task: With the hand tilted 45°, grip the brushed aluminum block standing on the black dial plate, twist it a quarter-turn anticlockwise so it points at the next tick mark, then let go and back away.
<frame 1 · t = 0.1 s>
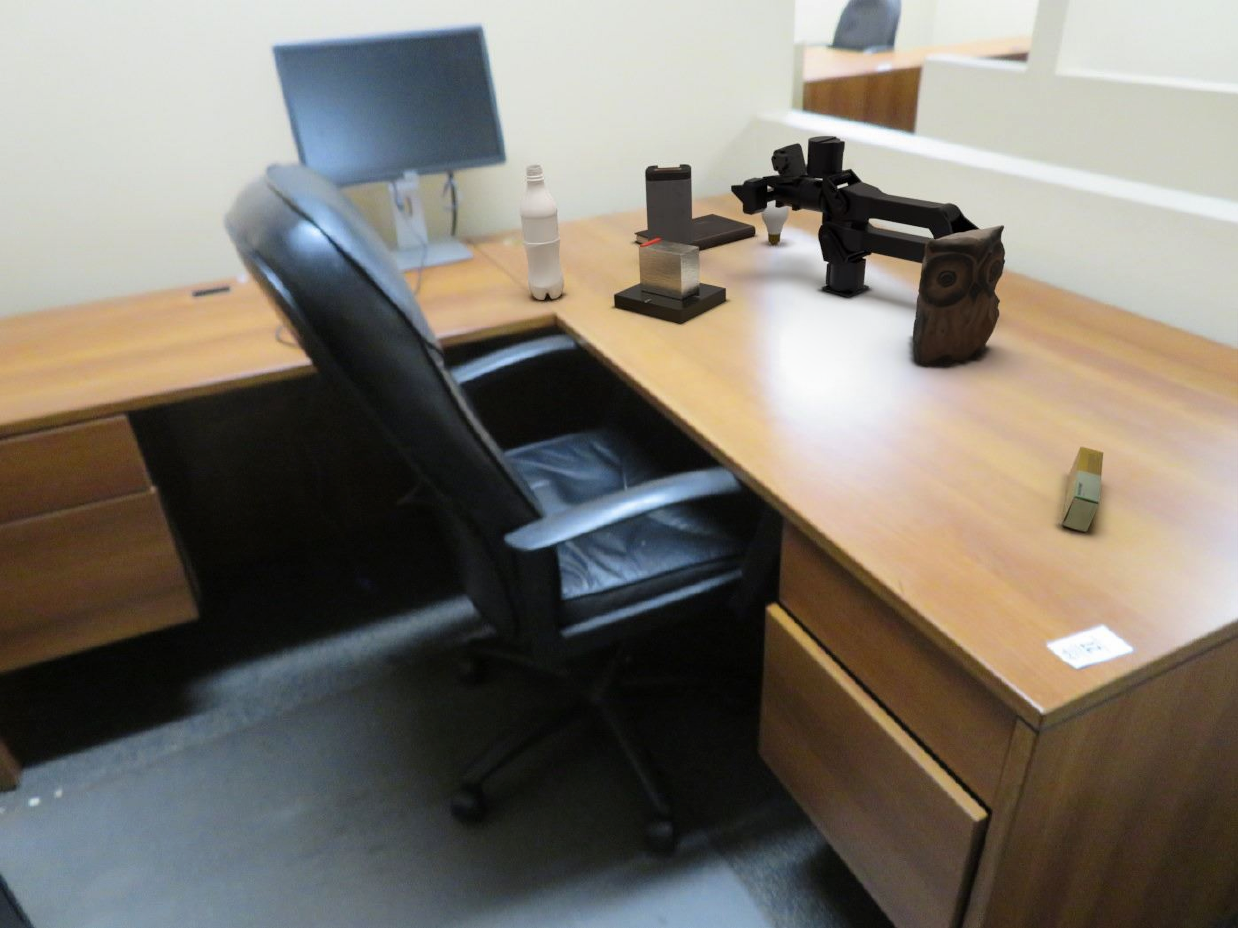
hand: (747, 183, 172), 17 cm above the table, tool horizontal, fingers open, 9 cm apart
owl: (942, 351, 137), on the table
light bulb: (773, 245, 191), on the table
electronic device: (671, 264, 184), on the table
brushed aluminum block: (669, 268, 159), point 7 cm above the table, hinge at 0.0°
medication box: (1079, 504, 98), on the table
water bottle: (547, 297, 171), on the table
dial plate: (670, 303, 163), on the table
hardcover book: (695, 240, 198), on the table
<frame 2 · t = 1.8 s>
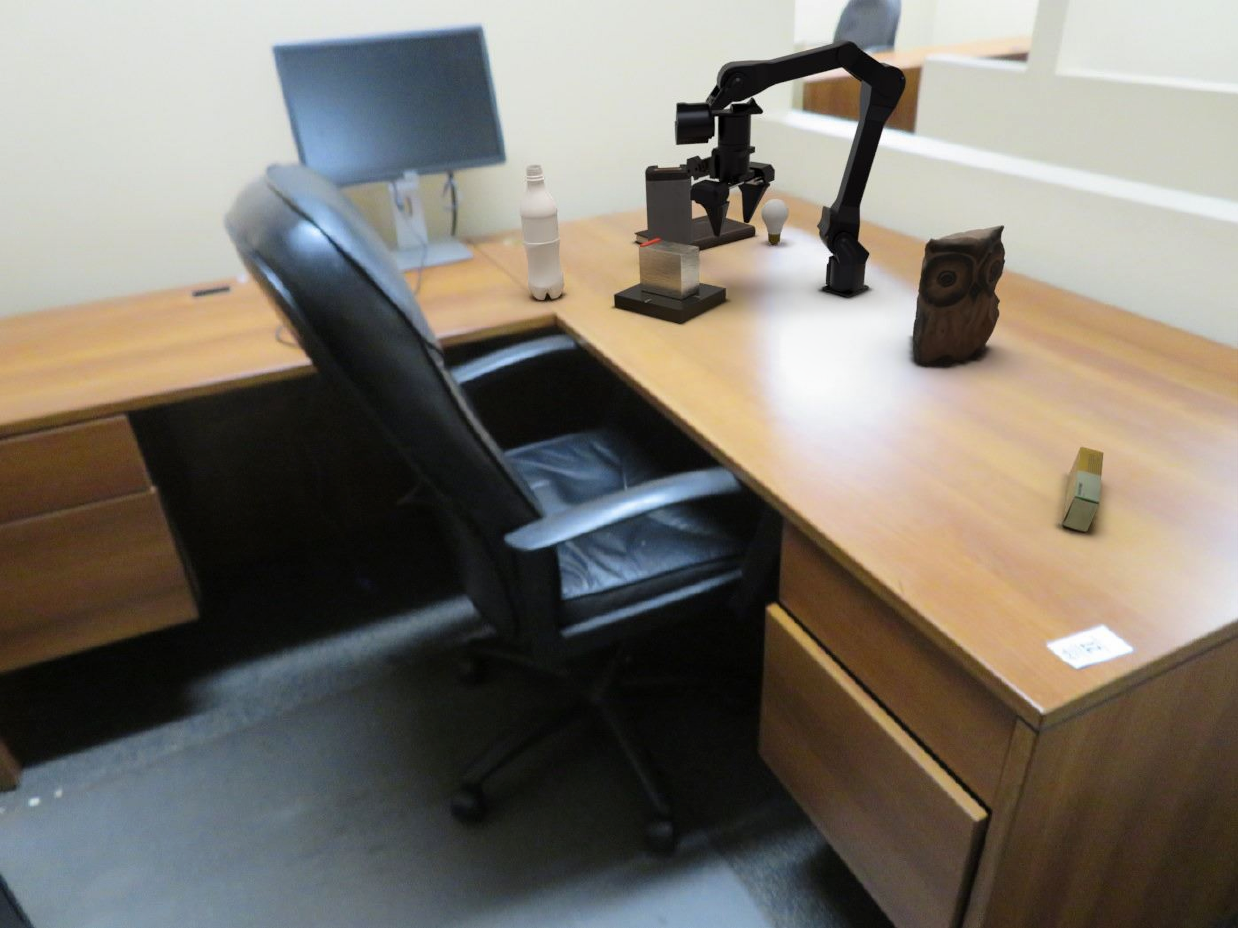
hand: (732, 229, 158), 13 cm above the table, tool pointing down, fingers open, 9 cm apart
nothing on the table moved.
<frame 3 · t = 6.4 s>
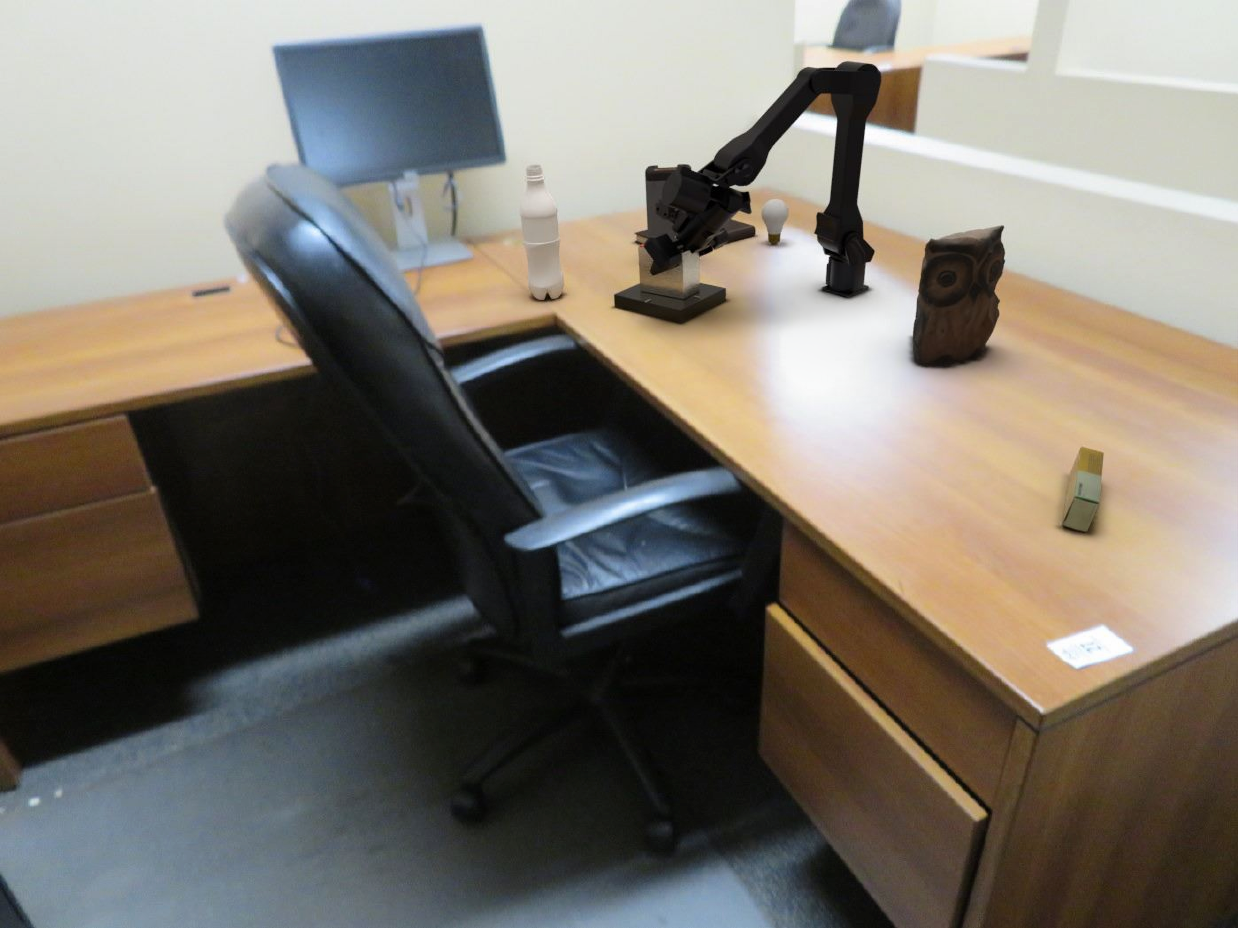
hand: (662, 268, 160), 7 cm above the table, tool tilted 45°, fingers closed on brushed aluminum block, 6 cm apart
brushed aluminum block: (669, 268, 159), point 7 cm above the table, hinge at 3.9°, touching gripper
everything else where it was.
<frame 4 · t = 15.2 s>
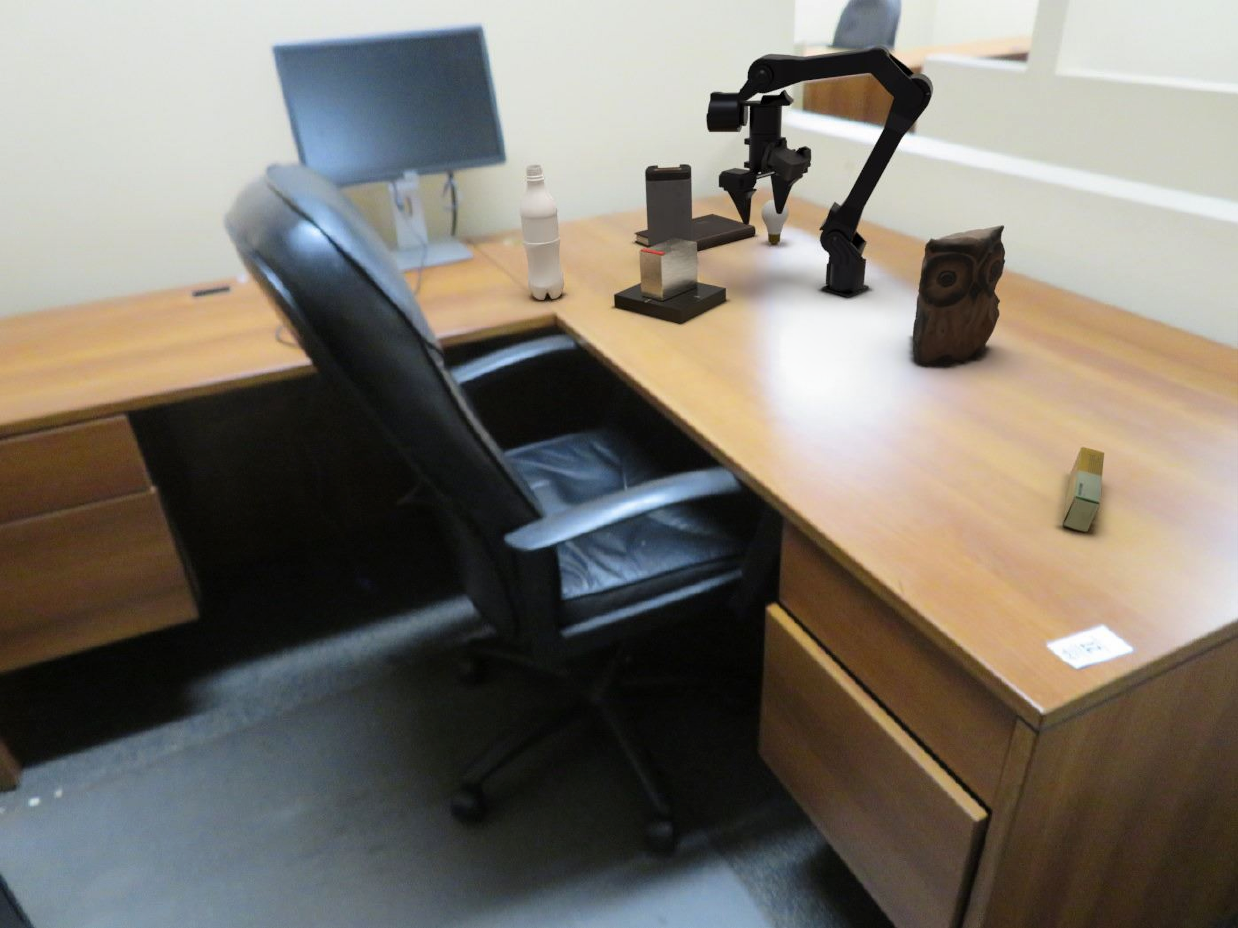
hand: (762, 219, 162), 13 cm above the table, tool pointing down, fingers open, 9 cm apart
brushed aluminum block: (669, 268, 159), point 7 cm above the table, hinge at 87.1°
everything else where it was.
at the end: brushed aluminum block at +87° (first picture: +0°); the gripper is holding nothing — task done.
